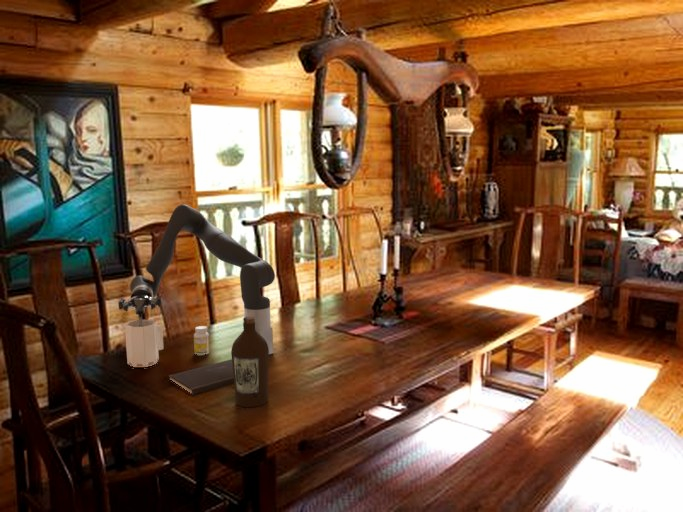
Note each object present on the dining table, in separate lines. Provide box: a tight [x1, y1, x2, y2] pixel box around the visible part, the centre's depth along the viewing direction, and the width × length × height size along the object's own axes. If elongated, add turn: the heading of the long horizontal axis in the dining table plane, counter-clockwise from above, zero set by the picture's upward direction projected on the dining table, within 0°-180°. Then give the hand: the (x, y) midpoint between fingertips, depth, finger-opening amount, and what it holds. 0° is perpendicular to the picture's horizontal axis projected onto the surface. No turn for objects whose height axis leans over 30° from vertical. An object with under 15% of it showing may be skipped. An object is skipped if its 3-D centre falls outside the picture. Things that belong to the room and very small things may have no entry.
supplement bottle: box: [193, 325, 210, 356], centre depth 215 cm, size 5×5×10 cm
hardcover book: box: [168, 358, 234, 396], centre depth 191 cm, size 16×23×2 cm
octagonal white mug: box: [124, 318, 164, 367], centre depth 205 cm, size 10×12×14 cm
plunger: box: [134, 298, 146, 327], centre depth 203 cm, size 7×7×19 cm
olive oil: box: [230, 316, 270, 408], centre depth 171 cm, size 11×11×25 cm
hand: (139, 307), depth 200 cm, fingers open, 8 cm apart
